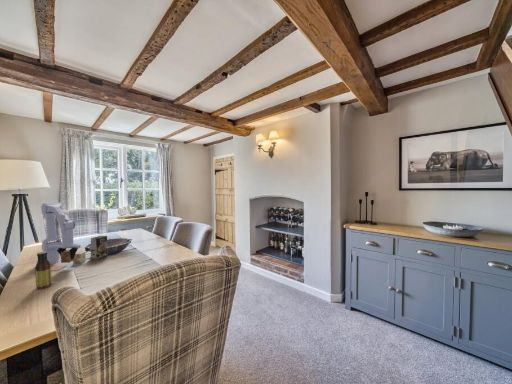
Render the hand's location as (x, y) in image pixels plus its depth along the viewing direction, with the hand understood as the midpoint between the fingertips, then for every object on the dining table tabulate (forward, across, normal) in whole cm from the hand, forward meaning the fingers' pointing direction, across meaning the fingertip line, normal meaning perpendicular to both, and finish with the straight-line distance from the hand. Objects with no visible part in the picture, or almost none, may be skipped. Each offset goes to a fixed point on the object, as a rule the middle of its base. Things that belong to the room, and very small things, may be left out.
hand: (68, 258), depth 145 cm
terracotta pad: (+7, -7, 0) cm, 10 cm away
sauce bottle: (+7, +5, -26) cm, 27 cm away
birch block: (+6, 0, +11) cm, 13 cm away
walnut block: (+2, 0, 0) cm, 2 cm away
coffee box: (+7, +7, +23) cm, 25 cm away
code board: (+7, -3, +5) cm, 10 cm away
